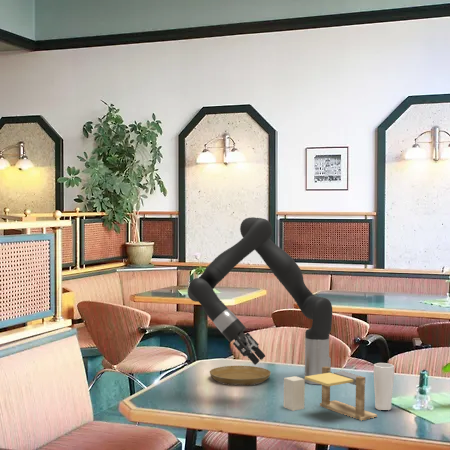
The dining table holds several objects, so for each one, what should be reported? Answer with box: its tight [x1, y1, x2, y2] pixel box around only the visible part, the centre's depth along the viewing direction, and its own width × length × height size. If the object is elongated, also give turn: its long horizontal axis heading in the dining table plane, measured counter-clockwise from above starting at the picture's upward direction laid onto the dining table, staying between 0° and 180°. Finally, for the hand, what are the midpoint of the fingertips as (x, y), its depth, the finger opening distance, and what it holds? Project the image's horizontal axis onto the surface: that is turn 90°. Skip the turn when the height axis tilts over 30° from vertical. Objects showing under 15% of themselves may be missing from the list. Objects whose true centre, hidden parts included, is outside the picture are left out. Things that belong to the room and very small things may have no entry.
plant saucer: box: [209, 365, 272, 386], centre depth 282 cm, size 24×24×3 cm
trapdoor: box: [304, 370, 360, 387], centre depth 236 cm, size 17×11×2 cm
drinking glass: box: [373, 362, 395, 411], centre depth 243 cm, size 7×7×15 cm
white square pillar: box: [283, 375, 306, 412], centre depth 244 cm, size 5×5×10 cm
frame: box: [319, 366, 378, 422], centre depth 240 cm, size 7×20×14 cm, turn 34°
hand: (260, 360), depth 246 cm, fingers open, 8 cm apart
